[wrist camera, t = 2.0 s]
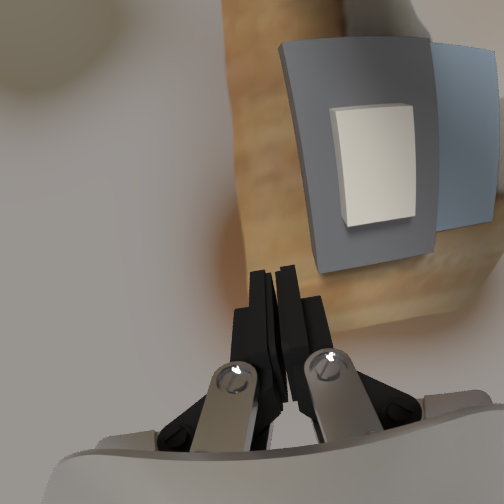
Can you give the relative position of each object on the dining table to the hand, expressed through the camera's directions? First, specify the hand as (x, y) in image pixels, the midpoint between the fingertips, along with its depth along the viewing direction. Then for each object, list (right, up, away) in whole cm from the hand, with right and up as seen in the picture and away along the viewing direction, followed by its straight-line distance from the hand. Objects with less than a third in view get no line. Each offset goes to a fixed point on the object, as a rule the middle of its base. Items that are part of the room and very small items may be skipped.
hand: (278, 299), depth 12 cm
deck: (+9, +11, +14) cm, 20 cm away
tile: (+8, +9, +11) cm, 17 cm away
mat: (+20, +13, +13) cm, 27 cm away
